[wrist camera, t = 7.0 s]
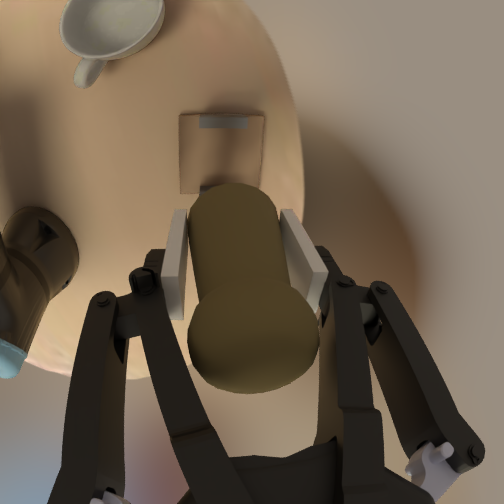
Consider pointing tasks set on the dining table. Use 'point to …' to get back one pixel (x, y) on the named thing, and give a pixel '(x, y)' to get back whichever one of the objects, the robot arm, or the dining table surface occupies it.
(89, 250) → the dining table surface
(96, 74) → the teacup
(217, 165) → the stand
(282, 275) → the cork
